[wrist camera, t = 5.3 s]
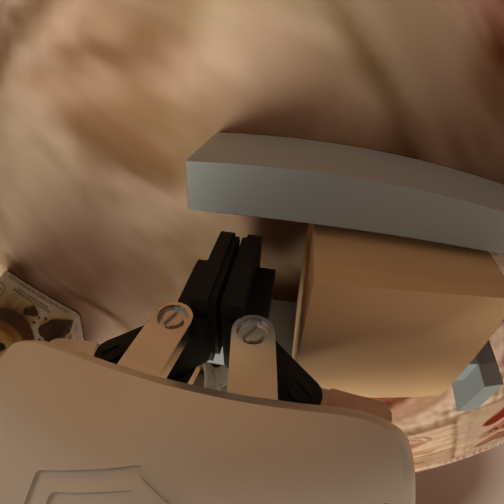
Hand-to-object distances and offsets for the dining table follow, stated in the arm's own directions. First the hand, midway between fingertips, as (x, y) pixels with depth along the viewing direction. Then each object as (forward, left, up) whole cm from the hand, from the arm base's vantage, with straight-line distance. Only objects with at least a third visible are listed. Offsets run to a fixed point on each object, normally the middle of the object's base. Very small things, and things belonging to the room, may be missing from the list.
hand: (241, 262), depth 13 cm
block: (0, +6, -1) cm, 6 cm away
